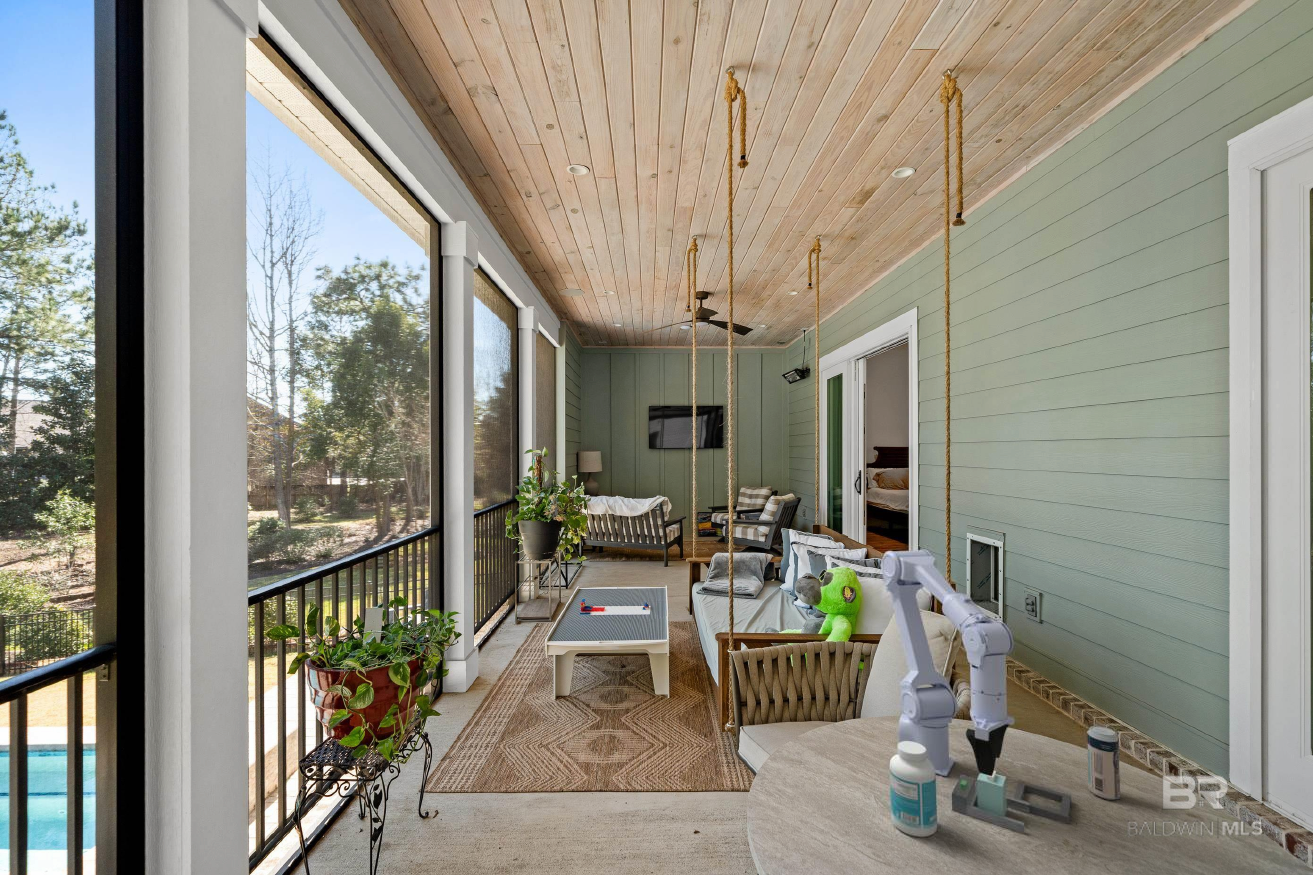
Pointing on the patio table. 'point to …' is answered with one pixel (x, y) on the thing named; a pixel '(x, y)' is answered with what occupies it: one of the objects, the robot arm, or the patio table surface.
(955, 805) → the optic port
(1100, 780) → the supplement canister
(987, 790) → the plug
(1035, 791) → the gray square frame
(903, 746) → the pill bottle
